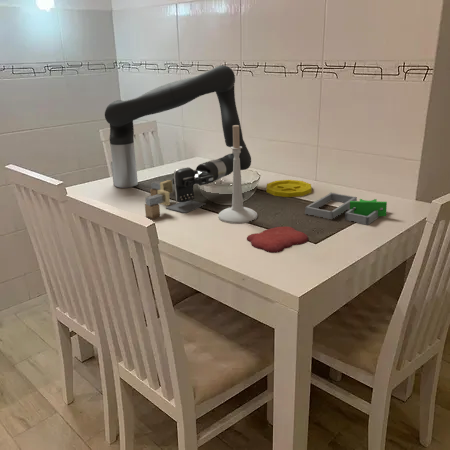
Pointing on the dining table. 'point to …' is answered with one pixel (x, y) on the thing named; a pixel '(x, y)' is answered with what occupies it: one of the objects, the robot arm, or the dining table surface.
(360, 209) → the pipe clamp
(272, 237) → the patty
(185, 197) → the battery charger
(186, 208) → the plate
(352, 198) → the parts corral
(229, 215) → the candlestick
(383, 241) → the dining table surface
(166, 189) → the set of rectangular blocks
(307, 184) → the decorative disc
